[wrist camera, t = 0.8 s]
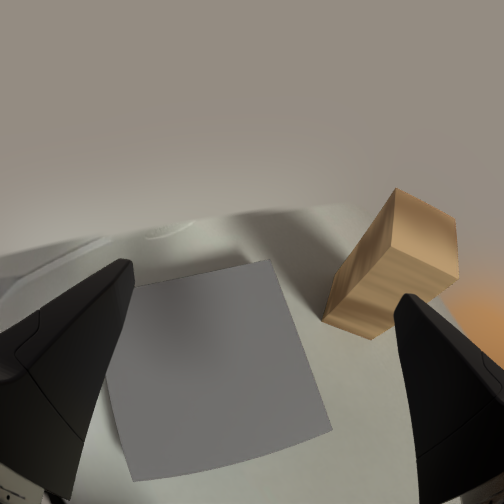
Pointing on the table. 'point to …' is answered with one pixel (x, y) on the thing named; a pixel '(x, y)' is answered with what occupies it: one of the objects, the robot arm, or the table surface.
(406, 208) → the oak block
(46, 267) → the table surface
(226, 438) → the plinth
